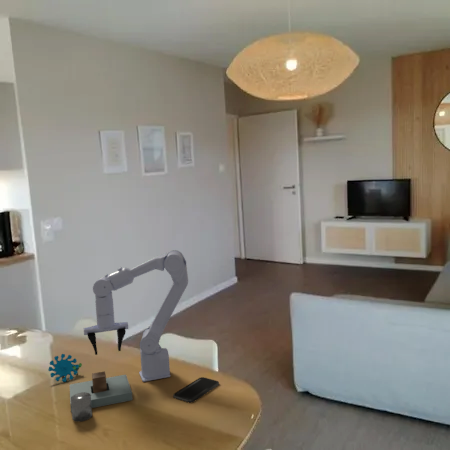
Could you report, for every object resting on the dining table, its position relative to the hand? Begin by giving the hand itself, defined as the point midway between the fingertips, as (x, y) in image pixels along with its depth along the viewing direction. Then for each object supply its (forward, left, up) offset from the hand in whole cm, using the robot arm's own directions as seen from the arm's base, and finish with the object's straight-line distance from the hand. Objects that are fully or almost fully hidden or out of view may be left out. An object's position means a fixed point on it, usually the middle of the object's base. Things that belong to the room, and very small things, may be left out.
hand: (107, 351), depth 158 cm
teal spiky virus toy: (+14, -7, -10) cm, 19 cm away
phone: (-25, +21, -10) cm, 34 cm away
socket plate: (+4, +12, -9) cm, 16 cm away
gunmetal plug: (+10, +23, -10) cm, 27 cm away
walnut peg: (+4, +12, -10) cm, 16 cm away
